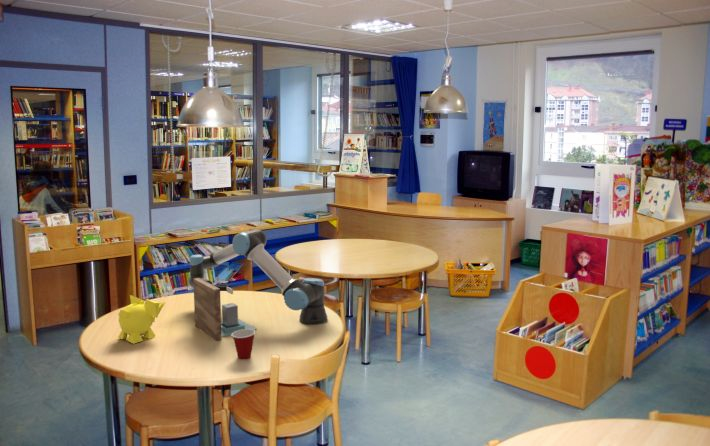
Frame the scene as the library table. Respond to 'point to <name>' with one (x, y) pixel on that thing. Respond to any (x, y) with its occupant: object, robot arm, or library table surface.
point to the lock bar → (229, 315)
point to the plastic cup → (243, 342)
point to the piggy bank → (138, 319)
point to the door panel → (207, 308)
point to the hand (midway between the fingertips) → (220, 293)
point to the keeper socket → (235, 328)
